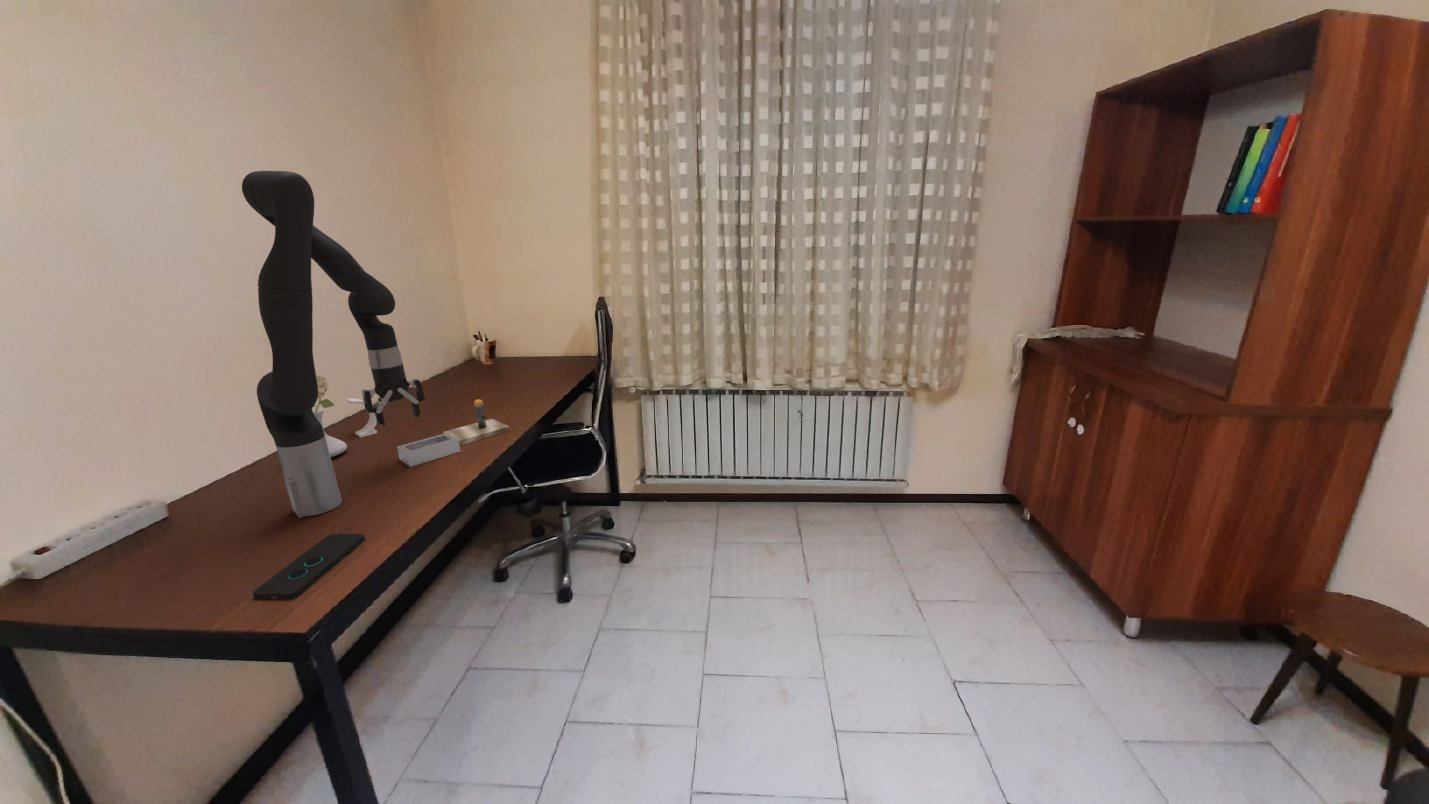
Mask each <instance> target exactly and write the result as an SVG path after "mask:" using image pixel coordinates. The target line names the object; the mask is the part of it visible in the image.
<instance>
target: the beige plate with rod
mask: <svg viewBox="0 0 1429 804" xmlns="http://www.w3.org/2000/svg"><path fill="white" fill-rule="evenodd" d="M473 406H474V408H475V415H476V422H475V423H470V424H468V425H467V424H466V425H464V426H461V427H460V426H459V427H456V428H453V429H450V430H446V431H443V432H442V434H444V433H448V434H450V435H452V436H454V437H456V438H457V439H458V440H459V446H463V445H467V444H469V443H473V442H477V441H480V440H483V439H486V438H491V437H494V436H497V435H501V434H504V433H508V432H511V430H510V426H509V425H507V424H504V423H503V422H501V421H499V420H497V419H494V418H488V419H486V415H485V410H484V409H485V408H484V401H483V400H482V399H479V398H478V399H475V400H474V402H473Z"/></svg>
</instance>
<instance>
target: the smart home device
mask: <svg viewBox="0 0 1429 804" xmlns="http://www.w3.org/2000/svg"><path fill="white" fill-rule="evenodd" d="M365 541H366V537H365V533H331V534H329V535H327V536H325V537H324V538H323V539H321V540H320V541H318V542H317V543H315V544H314V545H313V546H312V547H310V548H309V549H308V550H307V551H305V552H304V553H303V554H301V555H299V557H297V558H296V559H295V560H293V561H292V562H290V563H289V564H288V565H287V566H285V567H284V568H283V569H281V570H280V571H278V572H277V573H276V574H275V575H273V576H272V577H270V578H269V579H268V580H267V581H266V582H264V583H263V584H261V585H260V586H259V587H257V588H256V589H255V590H253V592H252V595H253V599H254V600H294V599H297V598H298V597H300V595H302V594H303V593H305V592H306V591H307V590H308V589H309V588H310V587H311V586H313V585H314V584H315V583H316V582H317V581H318V580H320V579H321V578H322V577H324V576H325V575H326V574H327V573H328V572H329V571H330V570H332V569H333V568H334V567H335V566H336V565H337V564H339V563H340V562H341V561H342V560H343V559H344V558H346V557H347V556H349V554H350V553H352V552H353V551H354V550H355V549H356V548H358V547H359V546H360V545H362V543H364V542H365Z"/></svg>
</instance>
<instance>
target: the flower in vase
mask: <svg viewBox="0 0 1429 804" xmlns="http://www.w3.org/2000/svg"><path fill="white" fill-rule="evenodd" d="M316 379H317V385H318V398H317V400H318V401H319V402H318V404H317V405H316V404H315V405H314V406H313V408H315V409H313V408H312V410H313V413H314V415H315V417H316V418H317V420H318V421H319V422H320V423H321V425H322V427H323V430H324V434H325V438H326V442H327V446H328V449H329V453H330V457H331V458H333V457H335V456H338V455H340V454H342V453H343V452H345V451H346V450H347V448H348V445H347V444H346V442H344V440H341V439H338V438H335V437H333V436H330V435H328V433H326V432H325V429H324V426H323V415H324V413H325V409H327V408H330V407H334V406H335V404H334V403H333V402H332V401H331V400H330V399H328V398H324V399H322V398H323V397H324V396H325V395H326V393H327V391H328V387H329V384H328V381H327V380H326V377H324V376H323V375H318V374H316ZM320 405H321V406H322V408H319V406H320Z"/></svg>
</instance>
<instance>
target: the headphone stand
mask: <svg viewBox="0 0 1429 804" xmlns="http://www.w3.org/2000/svg"><path fill="white" fill-rule="evenodd" d="M346 399H347V402H348V403H349V404H352V405H357V404H358V405H362V406H363V405H364V400H362V399H359V398H346ZM364 406H365V405H364ZM368 415H369V418H368V421H367V423H366V425H364V427H363V428H361V429H359V430H357V431H355V433H354V434H355V436H357V437H359V438H364V437H367V436H371V435H375V434H378V430H377V429H375V427H376V426H377V424H378V423H377V420H376V416H375V413H369V412H368Z"/></svg>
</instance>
